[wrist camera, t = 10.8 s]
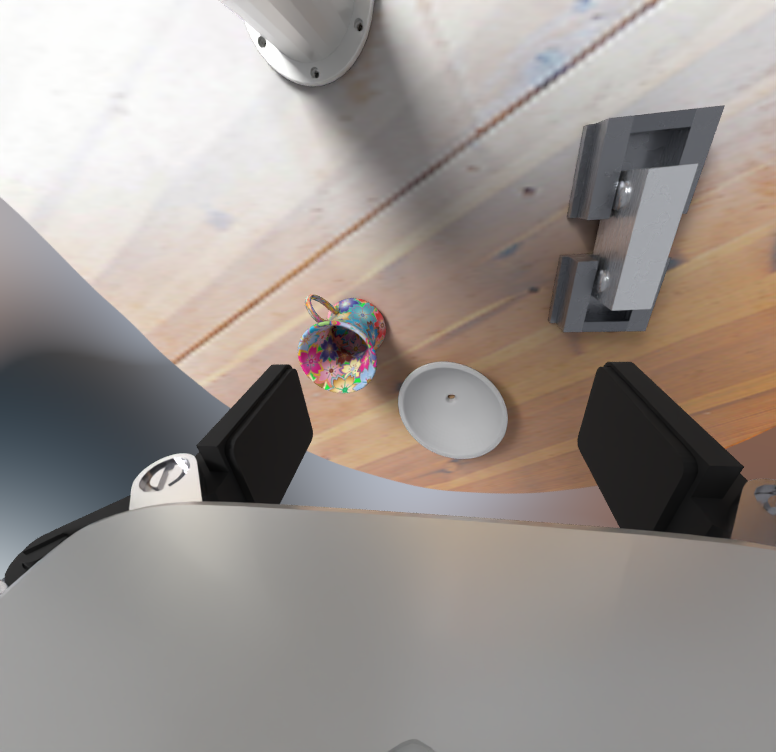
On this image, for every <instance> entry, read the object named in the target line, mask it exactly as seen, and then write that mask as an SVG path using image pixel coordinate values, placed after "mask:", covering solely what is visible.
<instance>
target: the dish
mask: <svg viewBox="0 0 776 752" xmlns="http://www.w3.org/2000/svg"><path fill="white" fill-rule="evenodd" d="M448 395H455V397H454V398H453V399H450V398H448ZM398 407H399V413H400V416H401V419H402V421H403V423H404V425H405V427H406V429H407V430H408V432H409V433H410V434H411V435H412V437H413V438H414V439H415V440H416V441H418V442H419V443H420V444H421V445H422V446H424V447H425V448H427V449H428V450H430V451H432V452H434V453H436V454H439V455H442V456H445V457H449V458H455V459H470V458H475V457H479V456H482V455H484V454H486V453H488V452H490V451H491V450H493V449H494V448H495V447H496V446H497V445H498V444H499V443H500V441H501V440H502V438H503V437H504V434H505V432H506V429H507V422H508V415H507V409H506V405H505V402H504V400H503V398H502V396H501V394H500V392H499V391H498V389H497V388H496V387H495V386H494V384H493V383H492V382H491V381H490V380H489V379H487V378H486V377H485V376H484V375H482V374H481V373H479V372H478V371H476V370H474V369H472V368H470V367H468V366H465V365H462V364H459V363H454V362H434V363H429V364H426V365H423V366H421V367H419V368H417V369H415V370H414V371H413V372H412V373H410V374H409V375H408V377H407V378H406V379H405V380H404V382H403V384H402V386H401V388H400V391H399V396H398Z"/></svg>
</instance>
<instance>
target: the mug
mask: <svg viewBox="0 0 776 752" xmlns="http://www.w3.org/2000/svg"><path fill="white" fill-rule="evenodd" d="M311 299H313V300H316V301H318V302H320V303H321V304H323V305H324V306H325V307H326V308H327V309H328V310H330V311H329V313H328V316H327V320H324V319H322V318H321V317H320V316H319V315H318V314H317V313H316V312H315V310H314V309H313V307H312V304H311ZM305 305H306V308H307V310H308V312H309V314H310V315H311V317H312V318H313V319H314V320H315V321H316V322H318V323H317V324H315V325H313V326H311V327H310V328H309V329H308V330H307V331H306V332H305V333H304V334H303V336H302V337H301V339H300V342H299V346H298V358H299V362H300V365H301V367H302V369H303V371H304V372H305V374H306V375H307V376H308V377H309V379H310V380H311V381H313V382H314V383H315V384H316V385H318V386H319V387H321V388H323V389H325V390H328V391H331V392H335V393H351V392H355V391H358V390H360V389H362V388H363V387H365V386H366V385H367V384H368V383H369V382H370V381H371V380H372V378H373V376H374V374H375V372H376V367H377V357H376V353H375V350H376V349H377V348H378V347H379V346H380V345H381V344H382V342H383V340H384V338H385V333H386V327H385V322H384V319H383V317H382V315H381V313H380V312H379V311H378V309H377V308H376V307H375V306H373V305H372V304H371V303H369V302H367V301H365V300H362V299H357V298H349V299H344V300H342V301H340V302H338V303H336V304H335V305H334V306H332V305H331V304H330V303H329V302H328V301H326V300H325V299H323V298H322V297H320V296H317V295H309V296H308V297H306V299H305Z"/></svg>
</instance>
